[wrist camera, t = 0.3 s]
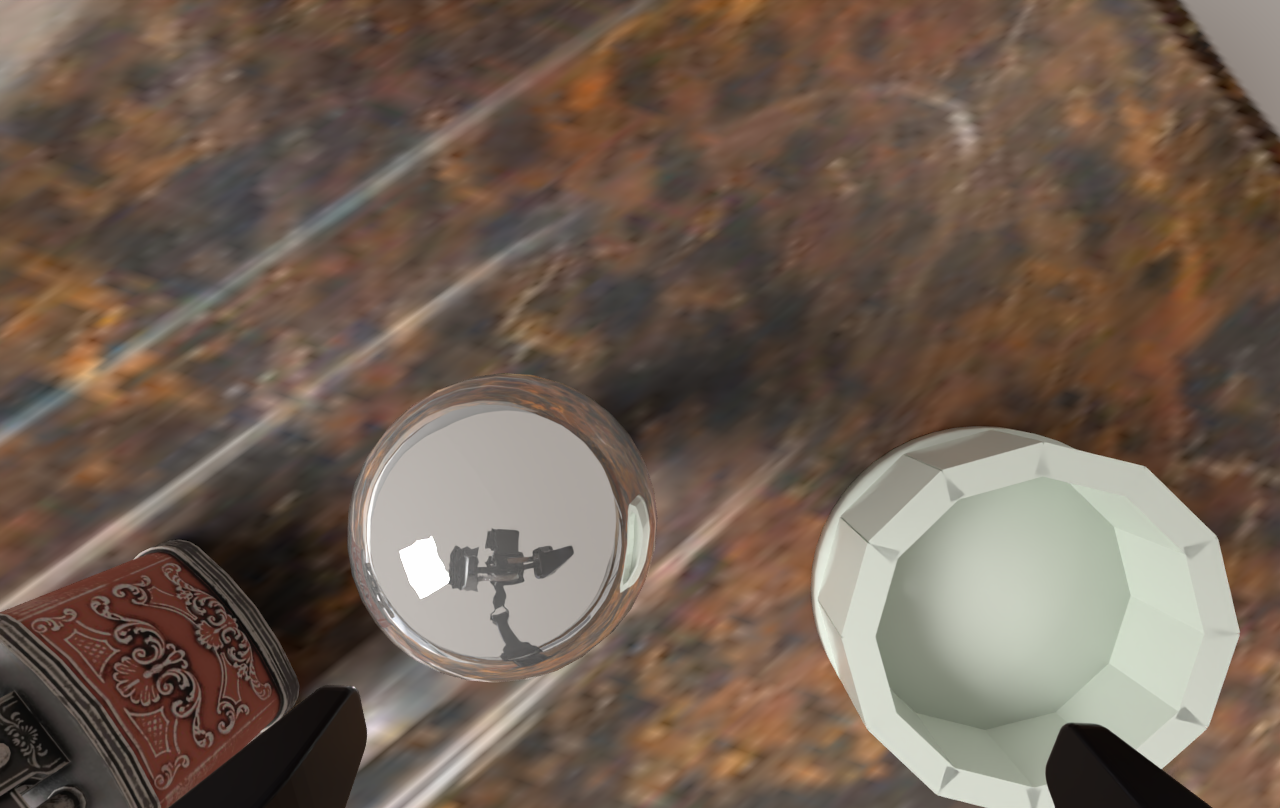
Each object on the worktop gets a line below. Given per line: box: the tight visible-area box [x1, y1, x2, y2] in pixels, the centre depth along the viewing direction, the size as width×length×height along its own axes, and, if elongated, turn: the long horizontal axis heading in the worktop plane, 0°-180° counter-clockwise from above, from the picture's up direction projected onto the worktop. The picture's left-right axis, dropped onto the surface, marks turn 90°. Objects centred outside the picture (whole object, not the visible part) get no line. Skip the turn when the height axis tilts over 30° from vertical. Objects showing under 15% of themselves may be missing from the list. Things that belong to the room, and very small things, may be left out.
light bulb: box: [347, 373, 657, 682], centre depth 17 cm, size 7×7×12 cm
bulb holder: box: [811, 426, 1240, 808], centre depth 21 cm, size 12×12×4 cm
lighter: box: [0, 540, 300, 808], centre depth 19 cm, size 8×3×10 cm, turn 35°
